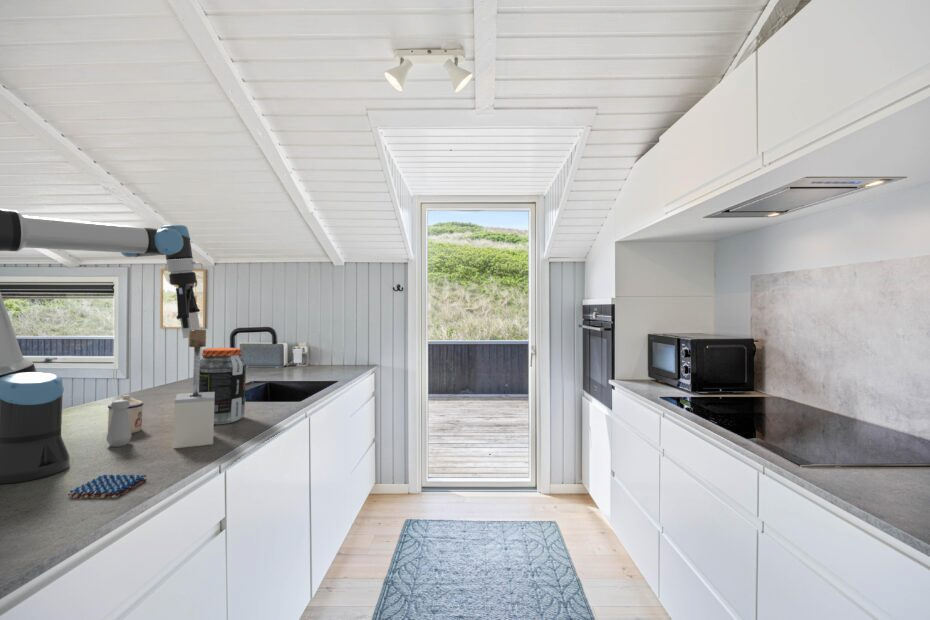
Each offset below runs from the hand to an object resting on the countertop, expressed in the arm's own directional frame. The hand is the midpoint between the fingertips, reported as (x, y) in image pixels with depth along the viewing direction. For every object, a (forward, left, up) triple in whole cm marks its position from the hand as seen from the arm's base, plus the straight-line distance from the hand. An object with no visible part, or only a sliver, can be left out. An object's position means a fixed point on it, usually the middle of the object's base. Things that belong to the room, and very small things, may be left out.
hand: (192, 334), depth 150 cm
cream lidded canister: (-18, +1, -32) cm, 36 cm away
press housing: (+2, -21, -31) cm, 38 cm away
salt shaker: (-17, -16, -32) cm, 39 cm away
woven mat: (-13, -52, -32) cm, 63 cm away
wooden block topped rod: (+2, -21, -21) cm, 30 cm away
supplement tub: (+9, +4, -32) cm, 33 cm away
